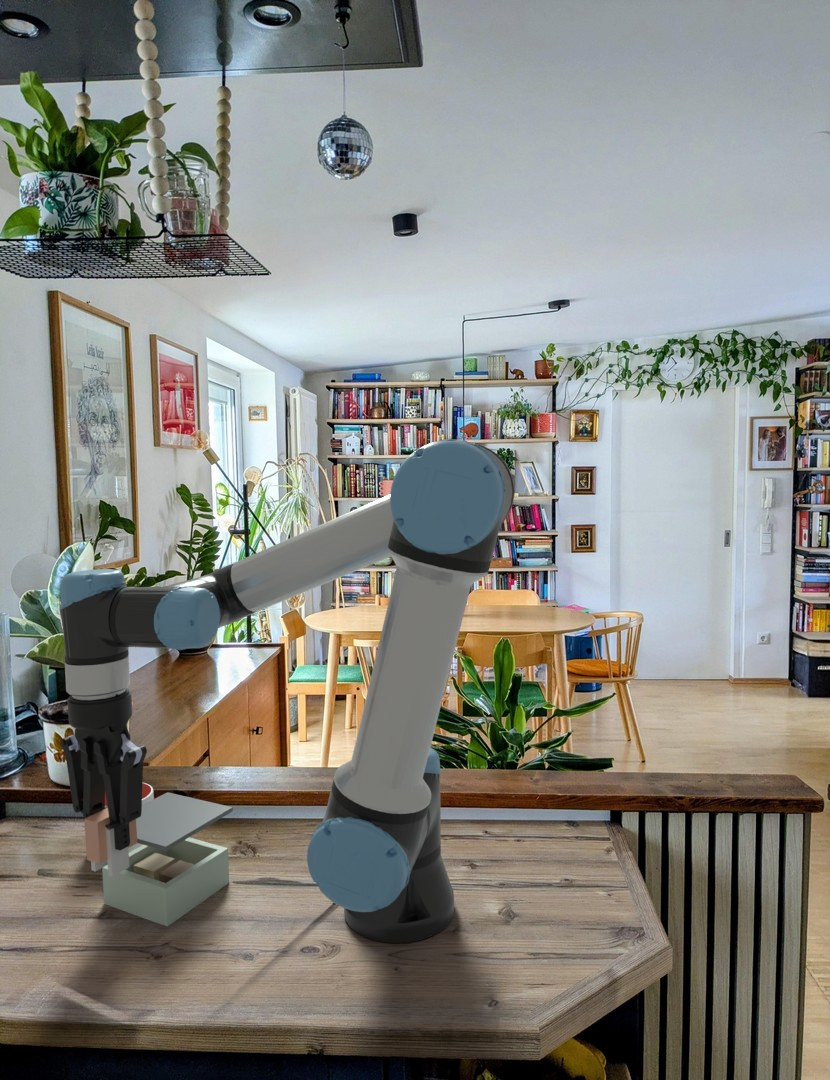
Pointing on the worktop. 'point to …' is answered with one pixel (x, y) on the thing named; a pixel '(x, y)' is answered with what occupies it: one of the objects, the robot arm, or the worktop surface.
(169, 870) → the part
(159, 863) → the part
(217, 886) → the tub
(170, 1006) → the worktop surface
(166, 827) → the lid
